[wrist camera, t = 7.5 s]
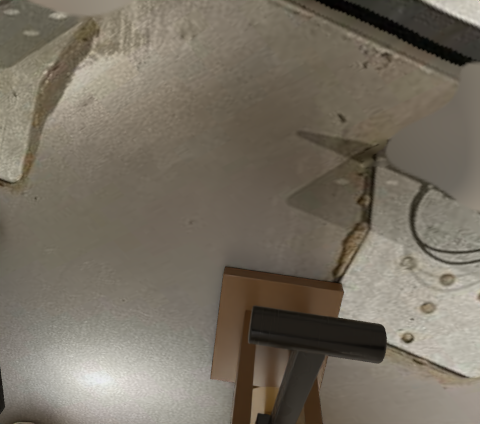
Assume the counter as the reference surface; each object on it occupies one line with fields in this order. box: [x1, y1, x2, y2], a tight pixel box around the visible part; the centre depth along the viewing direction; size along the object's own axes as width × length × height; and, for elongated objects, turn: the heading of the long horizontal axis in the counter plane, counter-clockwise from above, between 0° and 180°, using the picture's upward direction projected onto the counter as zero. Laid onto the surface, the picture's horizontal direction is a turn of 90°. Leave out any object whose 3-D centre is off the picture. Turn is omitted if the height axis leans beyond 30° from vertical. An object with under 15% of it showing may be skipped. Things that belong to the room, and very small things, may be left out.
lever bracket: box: [210, 267, 344, 424], centre depth 29 cm, size 10×9×13 cm
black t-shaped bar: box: [248, 305, 387, 424], centre depth 21 cm, size 14×5×2 cm, turn 173°
